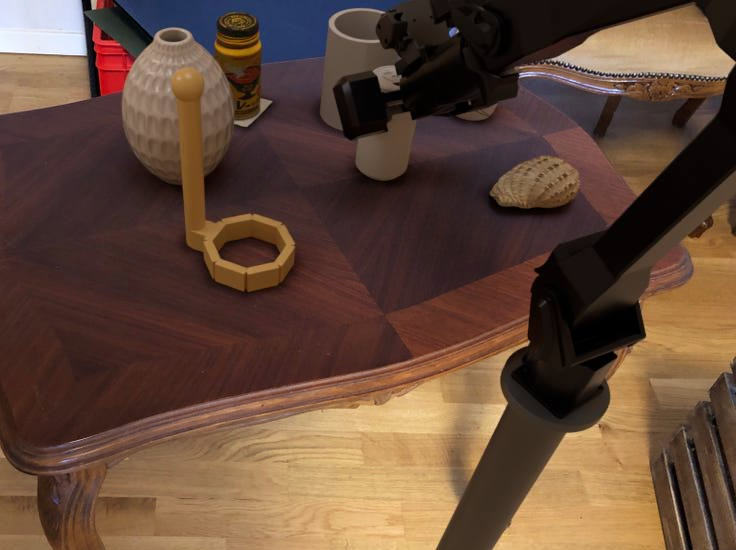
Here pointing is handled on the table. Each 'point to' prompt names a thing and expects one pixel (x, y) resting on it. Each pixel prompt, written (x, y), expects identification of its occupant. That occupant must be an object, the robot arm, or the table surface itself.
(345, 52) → the cup
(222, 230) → the holder
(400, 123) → the beverage can
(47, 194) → the table surface
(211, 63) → the vase
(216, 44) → the condiment
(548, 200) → the seashell
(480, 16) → the robot arm
